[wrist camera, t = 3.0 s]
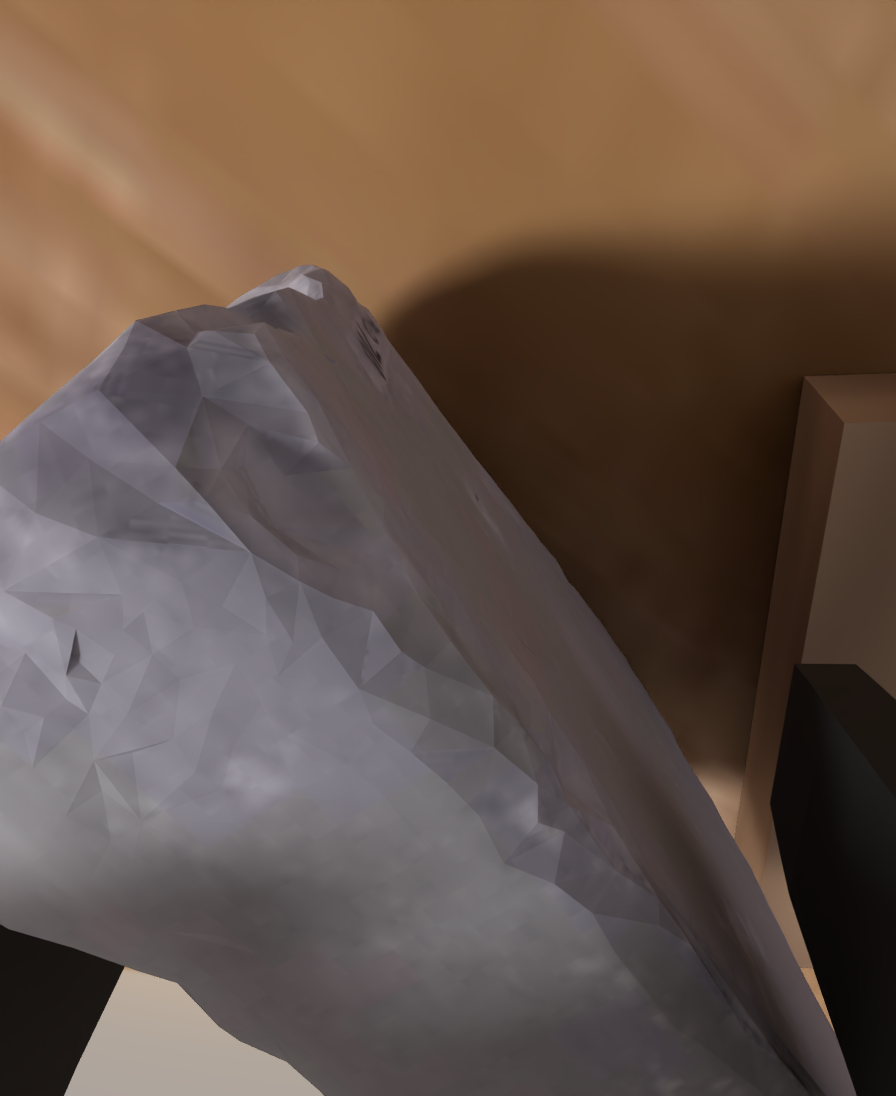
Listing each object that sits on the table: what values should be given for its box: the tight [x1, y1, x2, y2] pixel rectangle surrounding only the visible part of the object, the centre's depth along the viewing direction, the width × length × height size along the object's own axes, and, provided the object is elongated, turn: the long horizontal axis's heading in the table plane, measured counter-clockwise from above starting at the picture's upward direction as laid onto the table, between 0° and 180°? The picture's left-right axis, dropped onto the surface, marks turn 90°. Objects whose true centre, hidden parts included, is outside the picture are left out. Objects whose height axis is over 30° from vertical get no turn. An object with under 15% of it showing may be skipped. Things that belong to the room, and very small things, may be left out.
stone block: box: [0, 265, 857, 1096], centre depth 10 cm, size 12×5×10 cm, turn 32°
